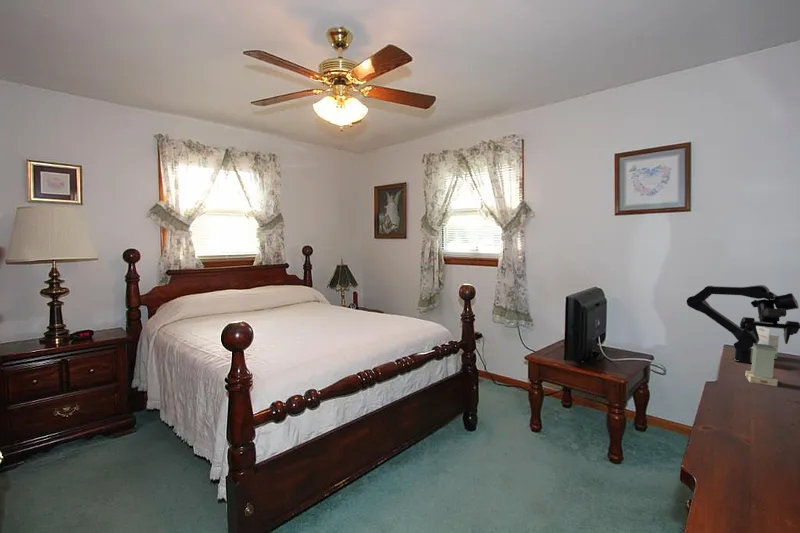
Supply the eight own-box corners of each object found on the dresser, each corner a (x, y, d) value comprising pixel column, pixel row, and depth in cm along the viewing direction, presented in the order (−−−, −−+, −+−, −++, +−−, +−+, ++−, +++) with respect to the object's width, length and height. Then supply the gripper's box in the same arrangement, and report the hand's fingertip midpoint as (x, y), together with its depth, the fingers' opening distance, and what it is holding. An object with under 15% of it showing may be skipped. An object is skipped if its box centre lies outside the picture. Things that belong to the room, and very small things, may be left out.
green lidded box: (750, 371, 166) (753, 343, 165) (768, 374, 163) (771, 345, 162) (753, 375, 161) (756, 346, 160) (772, 378, 158) (776, 348, 157)
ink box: (777, 360, 191) (780, 329, 189) (767, 359, 191) (769, 329, 189) (761, 354, 199) (764, 325, 198) (751, 354, 199) (754, 324, 198)
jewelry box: (744, 377, 168) (745, 370, 168) (770, 381, 164) (771, 373, 164) (750, 383, 161) (750, 376, 160) (777, 387, 157) (778, 380, 156)
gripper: (743, 299, 179) (748, 328, 170) (801, 303, 169) (808, 334, 161) (738, 313, 186) (742, 342, 177) (792, 318, 177) (799, 349, 168)
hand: (772, 341), depth 171 cm, fingers open, 9 cm apart
